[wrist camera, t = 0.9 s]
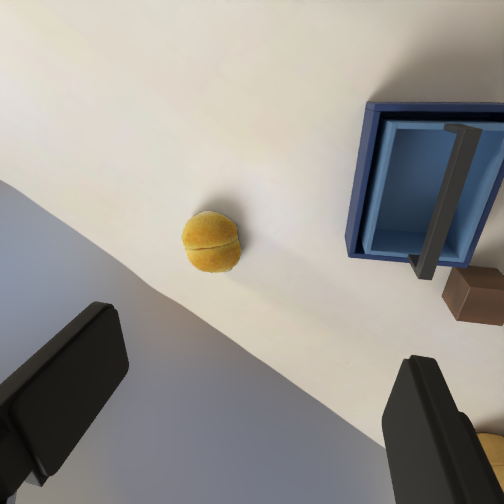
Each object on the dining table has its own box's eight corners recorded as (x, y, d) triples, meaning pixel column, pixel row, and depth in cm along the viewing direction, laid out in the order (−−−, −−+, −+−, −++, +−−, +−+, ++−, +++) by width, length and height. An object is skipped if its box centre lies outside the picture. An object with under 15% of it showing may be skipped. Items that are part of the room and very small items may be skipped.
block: (453, 264, 38) (470, 286, 34) (497, 268, 37) (520, 291, 33) (441, 296, 40) (455, 320, 36) (482, 300, 40) (502, 326, 35)
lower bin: (366, 101, 32) (375, 103, 27) (498, 102, 30) (533, 104, 25) (344, 236, 39) (348, 257, 34) (448, 245, 37) (467, 268, 32)
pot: (428, 446, 55) (449, 512, 46) (475, 412, 49) (508, 481, 40) (486, 471, 55) (518, 542, 46) (540, 441, 49) (587, 516, 40)
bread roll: (234, 206, 40) (226, 217, 37) (246, 263, 44) (239, 278, 41) (178, 211, 42) (166, 222, 39) (194, 266, 46) (184, 280, 43)
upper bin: (378, 116, 32) (403, 127, 22) (479, 118, 30) (550, 130, 21) (358, 229, 38) (370, 274, 29) (441, 236, 36) (482, 285, 27)
